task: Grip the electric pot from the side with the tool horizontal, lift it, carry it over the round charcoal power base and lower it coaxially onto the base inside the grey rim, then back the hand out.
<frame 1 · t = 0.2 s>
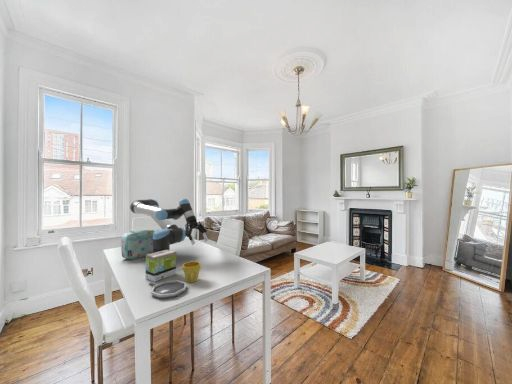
hand: (200, 242, 163), 15 cm above the table, tool tilted 35°, fingers open, 13 cm apart
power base: (169, 291, 116), on the table
lunch box: (139, 256, 176), on the table
plant pot: (191, 280, 130), on the table
tea box: (161, 276, 136), on the table
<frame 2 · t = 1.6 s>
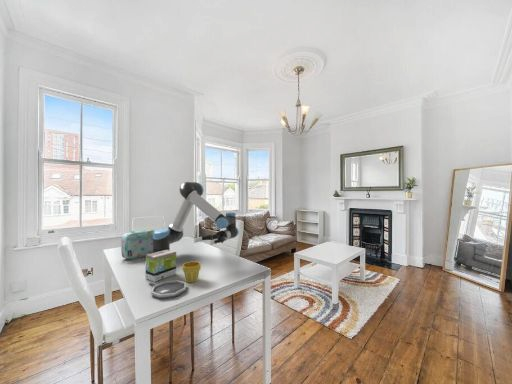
hand: (202, 241, 139), 21 cm above the table, tool horizontal, fingers open, 13 cm apart
nothing on the table moved.
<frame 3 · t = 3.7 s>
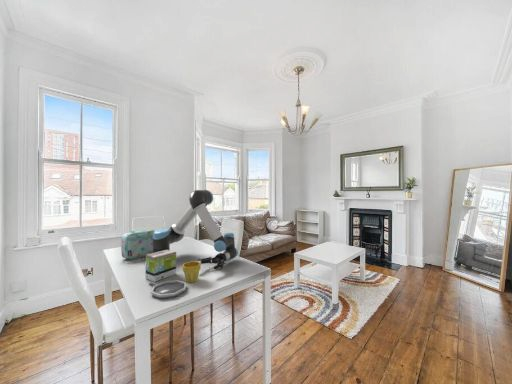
hand: (201, 267, 137), 5 cm above the table, tool horizontal, fingers open, 13 cm apart
nothing on the table moved.
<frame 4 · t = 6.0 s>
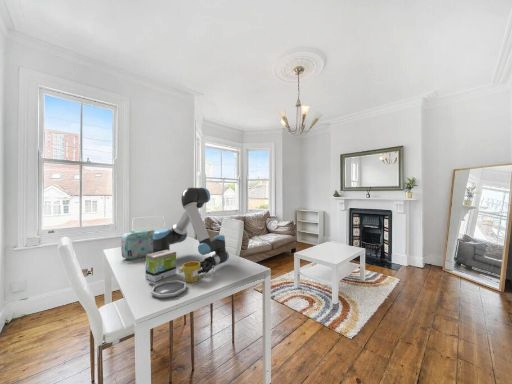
hand: (186, 272, 127), 6 cm above the table, tool horizontal, fingers closed on plant pot, 10 cm apart
plant pot: (191, 280, 130), on the table, touching gripper
everything else where it was.
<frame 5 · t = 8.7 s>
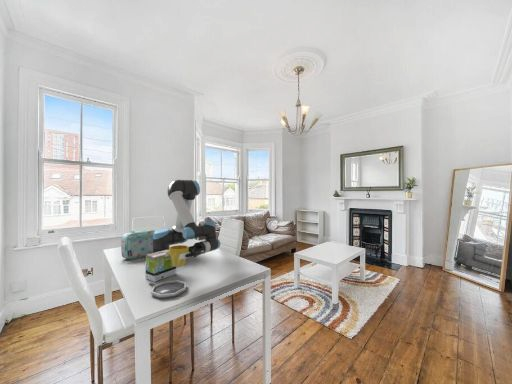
hand: (172, 255, 117), 19 cm above the table, tool horizontal, fingers closed on plant pot, 10 cm apart
plant pot: (178, 265, 120), point 13 cm above the table, touching gripper
everything else where it was.
when the fingers open (9 cm above the table, at t = 11.5 s): plant pot drops 1 cm, resting on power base.
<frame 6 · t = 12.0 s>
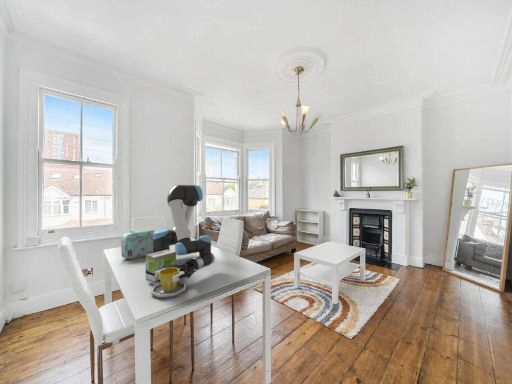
hand: (164, 276, 113), 9 cm above the table, tool horizontal, fingers open, 13 cm apart
plant pot: (169, 289, 116), point 1 cm above the table, touching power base
everything else where it was.
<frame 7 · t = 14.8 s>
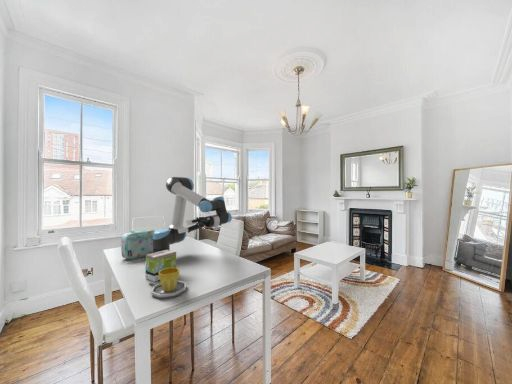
hand: (182, 227, 134), 31 cm above the table, tool horizontal, fingers open, 13 cm apart
nothing on the table moved.
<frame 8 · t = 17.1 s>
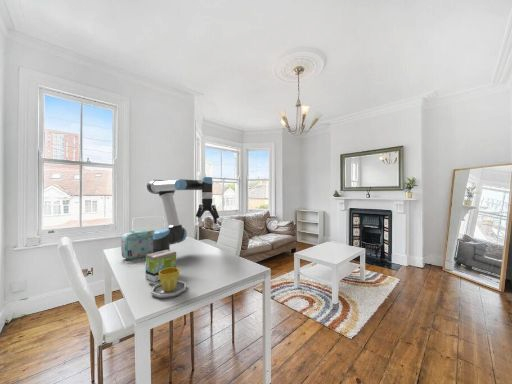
hand: (207, 227, 159), 27 cm above the table, tool pointing down, fingers open, 13 cm apart
nothing on the table moved.
at the end: plant pot 0.1 cm from the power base (horizontally); plant pot point 1.0 cm above the table; plant pot tilted 0° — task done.
